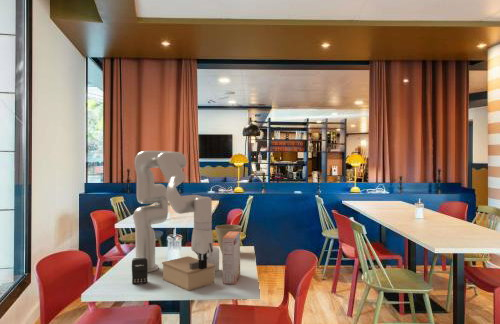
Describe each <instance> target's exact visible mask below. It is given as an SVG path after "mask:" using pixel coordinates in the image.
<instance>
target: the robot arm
mask: <svg viewBox="0 0 500 324" xmlns="http://www.w3.org/2000/svg"><path fill="white" fill-rule="evenodd" d="M186 166H187V158H186V156H185V154H183V153H182V152H179V151H170V150H142V151H140V152H139V151H138V153H137V154H136V156H135V157H134V170H135V174H136V200H137V202H138V203H139V204H143V206H139V207H137V208H136V209H135V210H134V212H133V221H134V222H133V223H134V230H135V231H134V232H135V233H134V234H135V258H136V257H146V258H147V259H148V273H152V272H155V271H157V270H158V269H159V264H157V263H156V232H155V230H154V228H153V225H156V224H162V223H164V222H166V221H167V219H168V214H169V205H170V207H171V209H172V210H173V211H174V212H175V213H177V214H181V215H182V214H189V213H193V229H192V234H191V244H190V245H191V251H192V252H194V253H195V254H196V255H197V259H198V260H199V269H201V270H202V269H205V268H207V259H208V257H211V256H212V254H211V253H212V252H213V246H214V237H213V236H214V235H213V234H214V233H213V229H212V227H213V226H212V224H213V223H212V220H213V219H212V217H213V216H212V214H213V213H212V211H213V209H212V208H213V206H212V204H213V201H212V198H211V197H210V196H202V195H199V194H191V195H181V194H180V193H179V191H178V189H177V187H178V186H179V185H180V184H182V183H183V182H184V181H185V179H186V174H185V172H184V171H183V169H184V168H185V167H186ZM154 168H155V169H160V171H161V173H162V175H163V177H164V178H165V180H166V182H167V185H166V186H165V185H164V184H162V183H155V175H154V172H153V171H152V169H154ZM144 204H154V205H144Z"/></svg>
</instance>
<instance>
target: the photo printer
mask: <svg viewBox="0 0 500 324" xmlns="http://www.w3.org/2000/svg"><path fill="white" fill-rule="evenodd" d="M211 254H212V256H211V257H208V259H207V263H210V264H213V265H215V267H214V272H218V271H220V247H218V246H215V245H213V252H212V253H211Z"/></svg>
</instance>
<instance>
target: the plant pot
mask: <svg viewBox="0 0 500 324" xmlns="http://www.w3.org/2000/svg"><path fill="white" fill-rule="evenodd" d="M214 229H215V233H216V239H217V242H218V246H219V247H218V248H219V250H220V252H221V253H222V238H223V237H224V236H225V235H226V234H227V233H228V232H230V231H233V232H240V233H241V231H242V230H241V229H242V226H241V225H238V224H221V225H216V226H215V228H214Z"/></svg>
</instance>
